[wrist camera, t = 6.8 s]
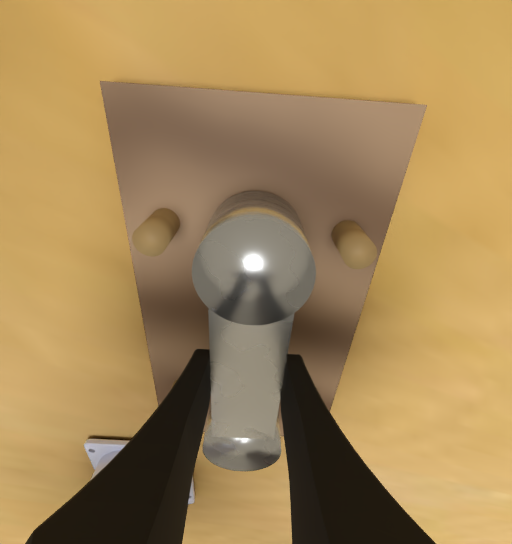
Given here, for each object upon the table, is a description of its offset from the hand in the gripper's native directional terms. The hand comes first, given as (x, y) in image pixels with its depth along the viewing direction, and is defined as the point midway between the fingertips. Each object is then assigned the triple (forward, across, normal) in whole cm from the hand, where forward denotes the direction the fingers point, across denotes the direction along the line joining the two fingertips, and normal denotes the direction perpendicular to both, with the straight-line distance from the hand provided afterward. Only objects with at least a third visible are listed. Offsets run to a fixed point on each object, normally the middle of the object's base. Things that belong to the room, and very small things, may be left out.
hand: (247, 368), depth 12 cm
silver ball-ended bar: (+3, 0, 0) cm, 3 cm away
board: (+4, 0, 0) cm, 4 cm away
